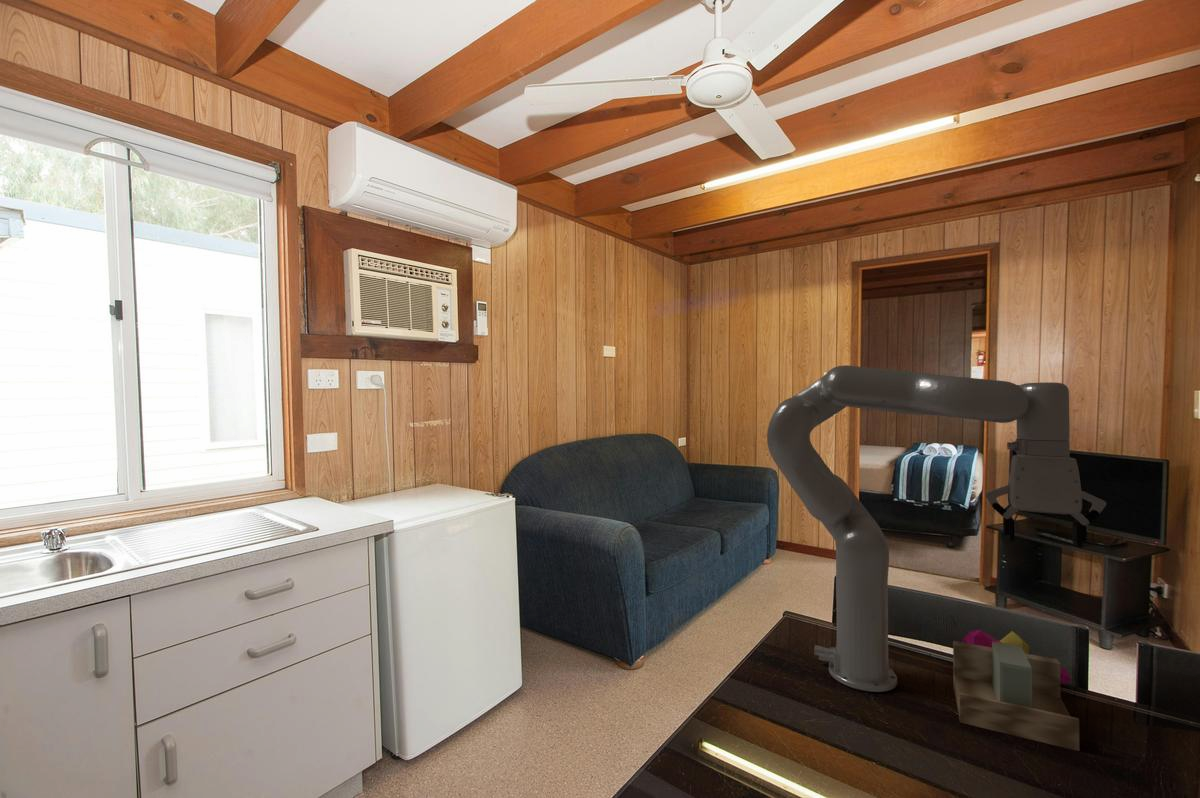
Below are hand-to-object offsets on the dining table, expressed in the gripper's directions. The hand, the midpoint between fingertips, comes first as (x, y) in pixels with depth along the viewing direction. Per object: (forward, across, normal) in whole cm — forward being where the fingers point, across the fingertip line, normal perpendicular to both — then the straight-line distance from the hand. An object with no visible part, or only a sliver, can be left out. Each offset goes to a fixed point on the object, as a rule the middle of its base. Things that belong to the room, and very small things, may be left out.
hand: (1043, 542), depth 99 cm
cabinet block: (+27, -6, -6) cm, 29 cm away
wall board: (+30, -6, -6) cm, 32 cm away
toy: (+31, -3, +10) cm, 32 cm away
